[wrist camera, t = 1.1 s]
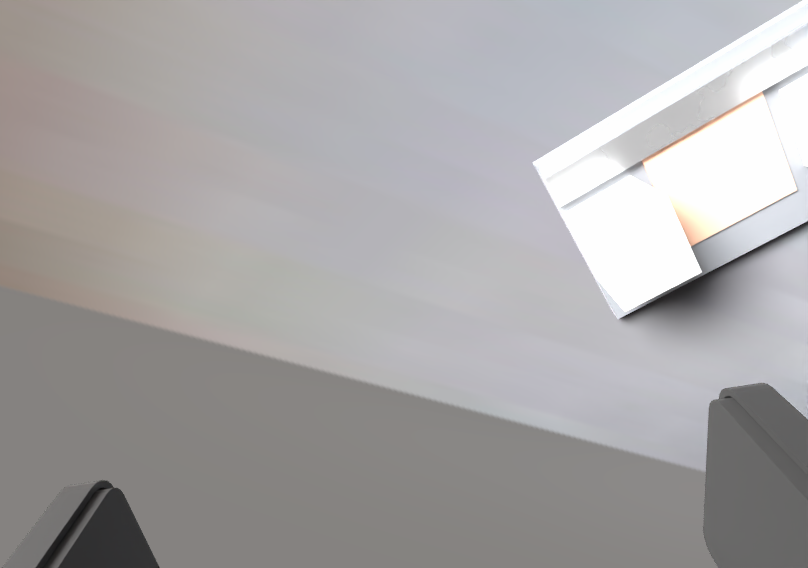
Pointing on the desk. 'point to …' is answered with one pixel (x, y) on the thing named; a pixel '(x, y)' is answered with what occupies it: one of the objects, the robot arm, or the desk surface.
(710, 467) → the robot arm
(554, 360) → the desk surface
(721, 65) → the module rail
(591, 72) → the desk surface
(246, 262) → the desk surface
